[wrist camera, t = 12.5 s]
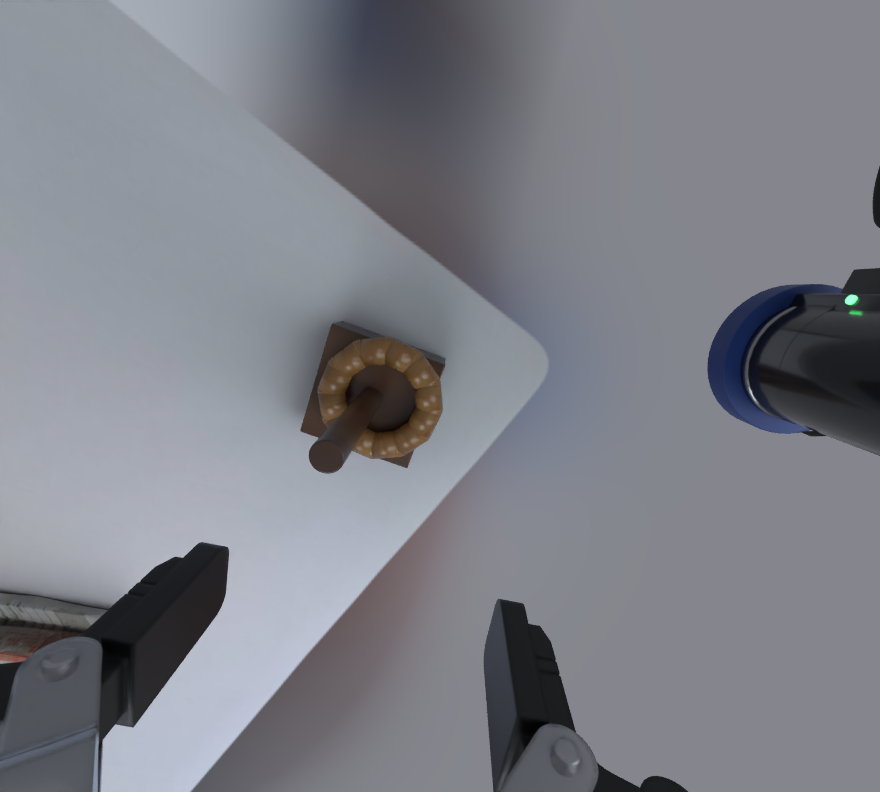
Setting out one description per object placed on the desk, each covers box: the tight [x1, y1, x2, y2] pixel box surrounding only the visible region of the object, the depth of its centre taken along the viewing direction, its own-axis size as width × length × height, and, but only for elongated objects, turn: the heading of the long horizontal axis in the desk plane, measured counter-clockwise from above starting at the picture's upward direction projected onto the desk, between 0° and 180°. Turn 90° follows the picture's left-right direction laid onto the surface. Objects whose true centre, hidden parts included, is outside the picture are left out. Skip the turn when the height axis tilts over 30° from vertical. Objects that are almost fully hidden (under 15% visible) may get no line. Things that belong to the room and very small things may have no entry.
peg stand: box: [301, 321, 446, 473], centre depth 28 cm, size 9×9×15 cm
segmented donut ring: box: [318, 337, 443, 459], centre depth 32 cm, size 9×9×2 cm
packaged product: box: [0, 593, 108, 664], centre depth 40 cm, size 18×5×10 cm
